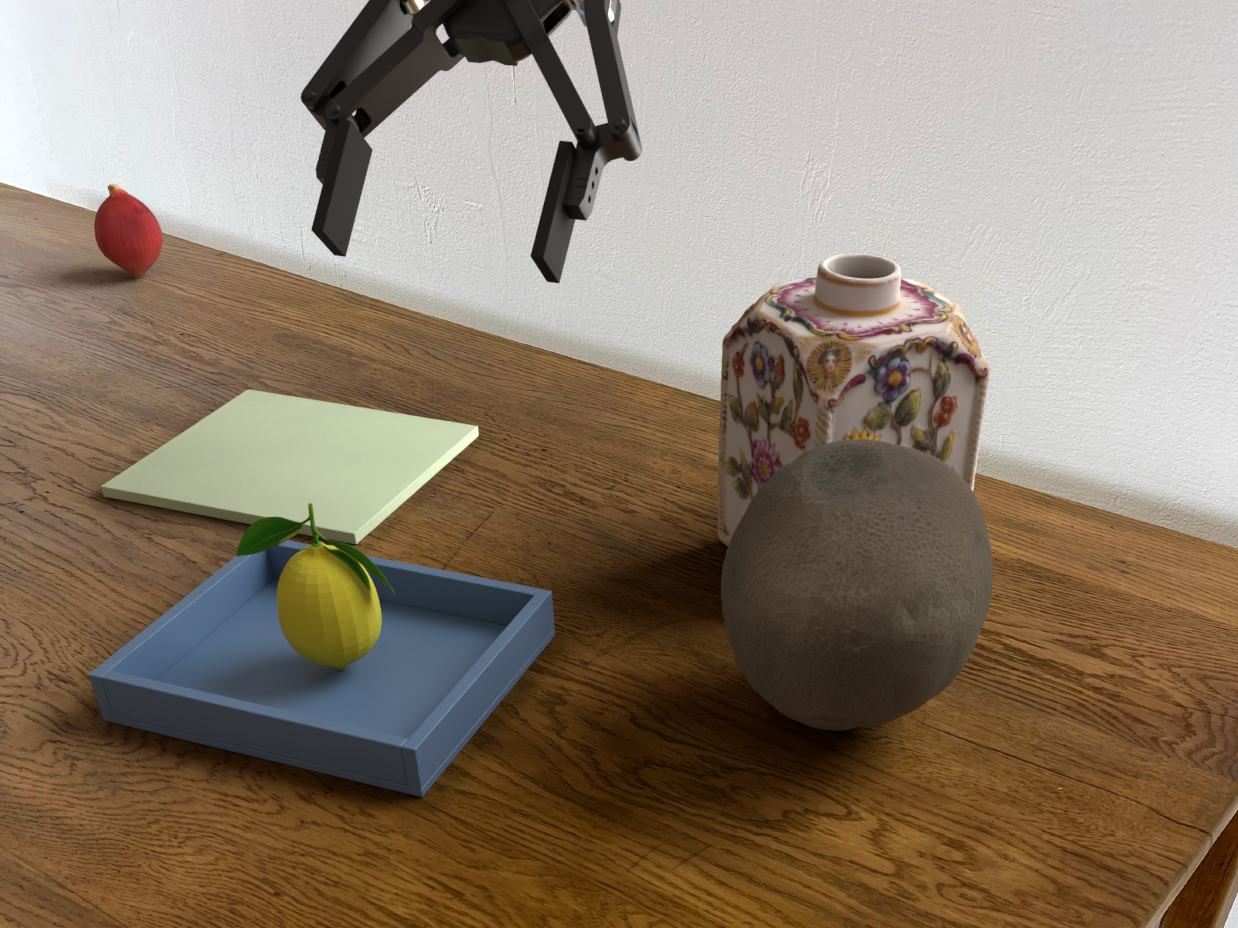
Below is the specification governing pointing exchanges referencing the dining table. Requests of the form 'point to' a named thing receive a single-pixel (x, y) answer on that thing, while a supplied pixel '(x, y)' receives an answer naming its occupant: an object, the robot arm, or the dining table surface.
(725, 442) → the decorative jar
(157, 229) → the onion
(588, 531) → the dining table surface
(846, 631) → the cantaloupe
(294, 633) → the lemon
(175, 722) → the tray
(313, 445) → the mat
